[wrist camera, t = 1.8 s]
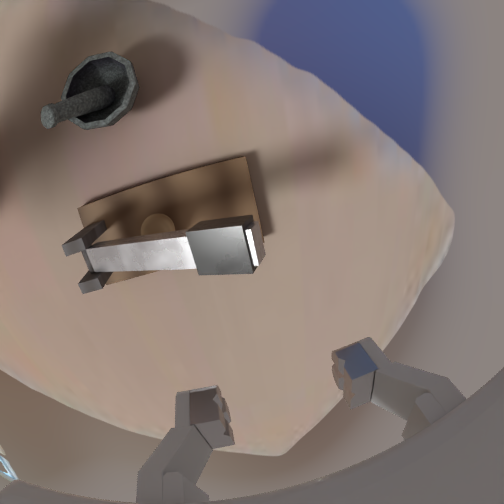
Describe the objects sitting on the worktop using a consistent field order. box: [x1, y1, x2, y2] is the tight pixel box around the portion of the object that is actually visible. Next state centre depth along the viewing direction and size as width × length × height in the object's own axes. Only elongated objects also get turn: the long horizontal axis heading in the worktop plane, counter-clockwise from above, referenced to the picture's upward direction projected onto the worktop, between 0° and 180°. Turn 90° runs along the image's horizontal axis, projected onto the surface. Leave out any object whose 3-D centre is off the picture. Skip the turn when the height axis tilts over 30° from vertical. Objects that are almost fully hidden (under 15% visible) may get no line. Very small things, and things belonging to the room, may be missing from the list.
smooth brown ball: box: [141, 213, 175, 236], centre depth 33 cm, size 4×4×4 cm
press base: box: [62, 156, 264, 294], centre depth 33 cm, size 24×12×10 cm, turn 103°
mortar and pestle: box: [41, 52, 139, 130], centre depth 24 cm, size 11×9×12 cm
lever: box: [86, 215, 266, 275], centre depth 26 cm, size 21×4×3 cm, turn 102°
